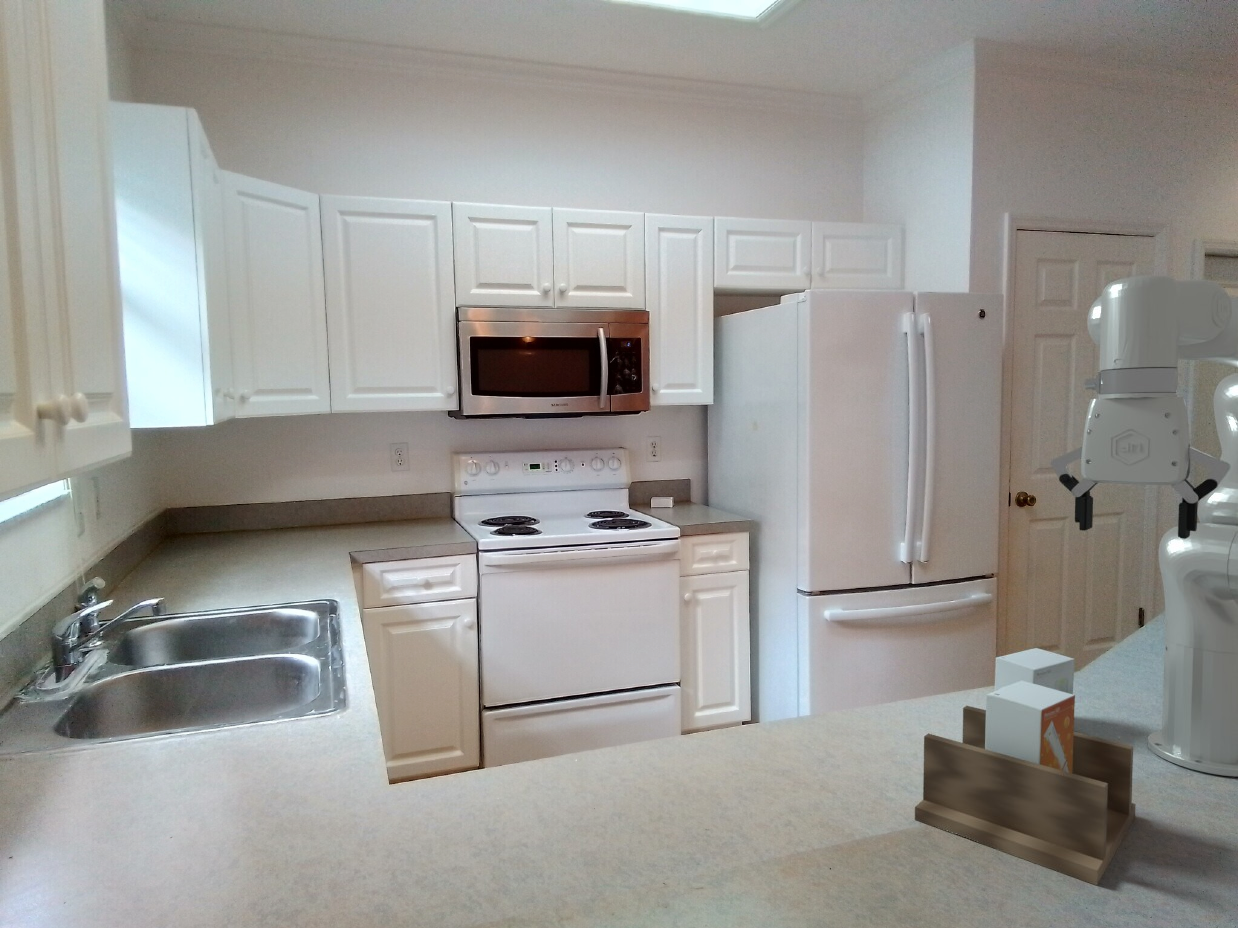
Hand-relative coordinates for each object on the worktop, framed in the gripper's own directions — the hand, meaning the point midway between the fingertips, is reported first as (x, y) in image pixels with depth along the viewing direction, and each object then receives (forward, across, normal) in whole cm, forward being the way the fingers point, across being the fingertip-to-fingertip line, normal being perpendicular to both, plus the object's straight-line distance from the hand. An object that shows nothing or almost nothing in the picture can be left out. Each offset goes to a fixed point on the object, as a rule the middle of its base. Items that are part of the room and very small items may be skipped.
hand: (1133, 533), depth 88 cm
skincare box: (+33, -15, +18) cm, 40 cm away
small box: (+31, -7, -12) cm, 34 cm away
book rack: (+32, -8, -12) cm, 35 cm away
